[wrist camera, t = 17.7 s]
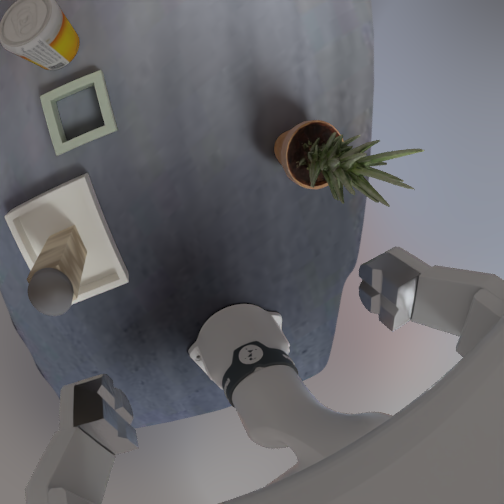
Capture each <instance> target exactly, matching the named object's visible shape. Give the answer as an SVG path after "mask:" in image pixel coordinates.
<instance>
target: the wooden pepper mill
mask: <svg viewBox="0 0 504 504" xmlns="http://www.w3.org/2000/svg"><path fill="white" fill-rule="evenodd" d="M86 255H87V250H86V248H85V246H84V244H83V242H82V239H81V237H80V235H79V233H78V231H77V228H76V226H75V225H73V226H71V227H68V228H66V229H64V230H62V231H59V232H57V233H55V234H53V235H51V236H49V238H48V239H47V241H46V243H45V245H44V247H43V248H42V250H41V252H40V254H39V256H38V258H37V260H36V262H35V264H34V266H33V268H32V270H31V272H30V274H29V276H28V278H27V281H28V283H29V286H28V296H29V299H30V301H31V303H32V305H33V306H34V307H35V308H36V309H37V310H38V311H40V312H41V313H43V314H46V315H49V316H59V315H62V314H64V313H65V312H67V311H68V310H69V308H70V306H71V304H72V301H73V300H76V299H77V297H78V292H79V287H80V282H81V277H82V272H83V268H84V264H85V259H86Z"/></svg>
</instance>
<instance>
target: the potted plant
mask: <svg viewBox="0 0 504 504" xmlns="http://www.w3.org/2000/svg"><path fill="white" fill-rule="evenodd" d="M358 137H360V135H357V136H354V137H352V138H350V139H348V140H346V141H343V135H340V133H339V132H338V131H337V129H336V128H335V127H334V126H332V125H331V124H329V123H327V122H325V121H321V120H310V121H304V122H302V123H300V124H298V125H296V126H295V127H293V128H292V129H291V130H288V131H286V132H284V133H282V134H281V135H280V136H279V137H278V138H277V140H276V142H275V146H274V153H275V156H276V158H277V159H278V161H279V162H280V164H281V165H282V166H283V169H284V170H285V172H286V175H287V176H288V177H289V178H290V179H291V180H292V181H293V182H295V183H296V184H298V185H299V186H301V187H304V188H307V189H320V188H323V187H326V186H328V185H329V187H330V190H331V192H332V195H333V197H334V198H335V199H337V200H338V201H339V200H340V201H341V202H342V203H343V204H344V199H343V185H344V186H345V187H346V189H347V190H348V191H349V192H350V193H351V194H353V195H355V191H354V190H353V188H352V186H353V187H354V188H356V189H357V190H359V191H360V192H361V193H363V194H364V195H366V196H367V197H369V198H370V199H371V200H373V201H375V202H381V203H382V204H384V205H386V206H388V207H389V204H388V203H387V202H386V201H385V200H384V199H383V198H382V196H381V195H380V194H379V193H378V192H377V191H376V190H375V189H374V188H373V187H372V186H371V185H370V183H369V182H368V181H367V180H366V179H365V178H364V176H369V177H373V178H376V179H379V180H382V181H386V182H389V183H391V184H394V185H398V186H401V187H404V188H409V189H414V188H412V187H411V186H409V185H407V184H404V183H402V182H403V180H401V179H399V178H397V177H395V176H393V175H391V174H388V173H386V172H383V171H380V170H378V169H374V168H371V167H370V166H377V165H386V164H387V163H384V162H382V161H385V160H390V159H393V158H398V157H402V156H406V155H410V154H414V153H418V152H422V151H424V150H422V149H406V150H398V151H391V152H385V153H381V154H376V155H371V156H367V157H364V156H365V155H367V154H366V153H363V152H364V151H366V150H367V149H368V148H370V147H371V146H373V145H374V144H376V143H378V142H379V140H376V141H372V142H368V143H365V144H363V145H361V146H359V147H356V148H354V149H352V147H353V146H348V147H347V145H348V144H349V143H351V142H352V141H353V140H355V139H357V138H358ZM362 157H363V158H362ZM400 181H401V182H400ZM338 197H339V199H338Z"/></svg>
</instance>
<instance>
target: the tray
mask: <svg viewBox="0 0 504 504" xmlns="http://www.w3.org/2000/svg"><path fill="white" fill-rule="evenodd" d="M4 217H5V219H6V221H7V224H8V226H9V228H10V230H11V233H12V235H13V237H14V239H15V241H16V243H17V245H18V247H19V249H20V251H21V253H22V255H23V257H24V259H25V261H26V263H27V265H28V267H29V268H30V270H32V268H33V266H34V264H35V262H36V260H37V258H38V256H39V254H40V252H41V250H42V248H43V247H44V245H45V243H46V241H47V239H48V238H49V236H51V235H53V234H55V233H57V232H59V231H62V230H64V229H66V228H68V227H71V226H73V225H75V226H76V228H77V231H78V233H79V235H80V237H81V239H82V242H83V244H84V246H85V248H86V250H87V255H86V259H85V264H84V268H83V272H82V277H81V282H80V287H79V292H78V297H77V299H76V300H73V301H72V304H75V303H77V302H80V301H82V300H85V299H87V298H90V297H92V296H95V295H97V294H100V293H103V292H105V291H108V290H110V289H113V288H115V287H118V286H121V285H123V284H126V283H128V282H129V275H128V270H127V268H126V266H125V264H124V262H123V259H122V257H121V255H120V253H119V250H118V248H117V246H116V244H115V241H114V239H113V237H112V234H111V232H110V229H109V227H108V225H107V222H106V220H105V217H104V215H103V212H102V210H101V207H100V204H99V202H98V199H97V197H96V194H95V191H94V188H93V186H92V183H91V180H90V177H89V174H88V173H85V174H83V175H81V176H78V177H76V178H74V179H72V180H69V181H67V182H65V183H63V184H61V185H59V186H56V187H54V188H52V189H50V190H48V191H46V192H44V193H42V194H40V195H38V196H36V197H34V198H32V199H30V200H28V201H26V202H24V203H22V204H21V205H19V206H17V207H15V208H13V209H11V210H10V211H9V212H8V213H7V214H6V215H5V216H4ZM72 304H71V305H72Z"/></svg>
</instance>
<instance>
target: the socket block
mask: <svg viewBox="0 0 504 504" xmlns="http://www.w3.org/2000/svg"><path fill="white" fill-rule="evenodd" d="M91 86H95V90H96V94H97V98H98V102H99V106H100V109H101V113H102V117H103V120H104V124H105V125H104V126H102V127H99V128H97V129H94V130H92V131H90V132H87V133H85V134H82V135H80V136H78V137H75V138H73V139H71V140H69V141H67V140H66V136H65V133H64V129H63V126H62V122H61V119H60V115H59V111H58V108H57V104H56V101H59V100H61V99H63V98H65V97H67V96H70V95H72V94H74V93H77V92H79V91H81V90H84V89H86V88H89V87H91ZM40 99H41V103H42V107H43V111H44V115H45V119H46V123H47V126H48V130H49V133H50V136H51V140H52V143H53V146H54V149H55V153H56V156H58V155H60V154H63V153H65V152H67V151H69V150H71V149H74V148H76V147H78V146H80V145H83V144H85V143H87V142H90V141H92V140H95V139H97V138H100V137H102V136H105V135H107V134H110V133H112V132H115V131H117V130H118V128H117V125H116V121H115V118H114V114H113V110H112V106H111V103H110V99H109V95H108V91H107V87H106V83H105V79H104V75H103V72H102V71H101V70H99V71H96V72H94V73H91V74H89V75H86V76H84V77H81V78H79V79H76V80H74V81H72V82H69V83H67V84H65V85H63V86H60V87H58V88H56V89H54V90H52V91H50V92H48V93H45V94H43V95H41V96H40Z"/></svg>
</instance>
